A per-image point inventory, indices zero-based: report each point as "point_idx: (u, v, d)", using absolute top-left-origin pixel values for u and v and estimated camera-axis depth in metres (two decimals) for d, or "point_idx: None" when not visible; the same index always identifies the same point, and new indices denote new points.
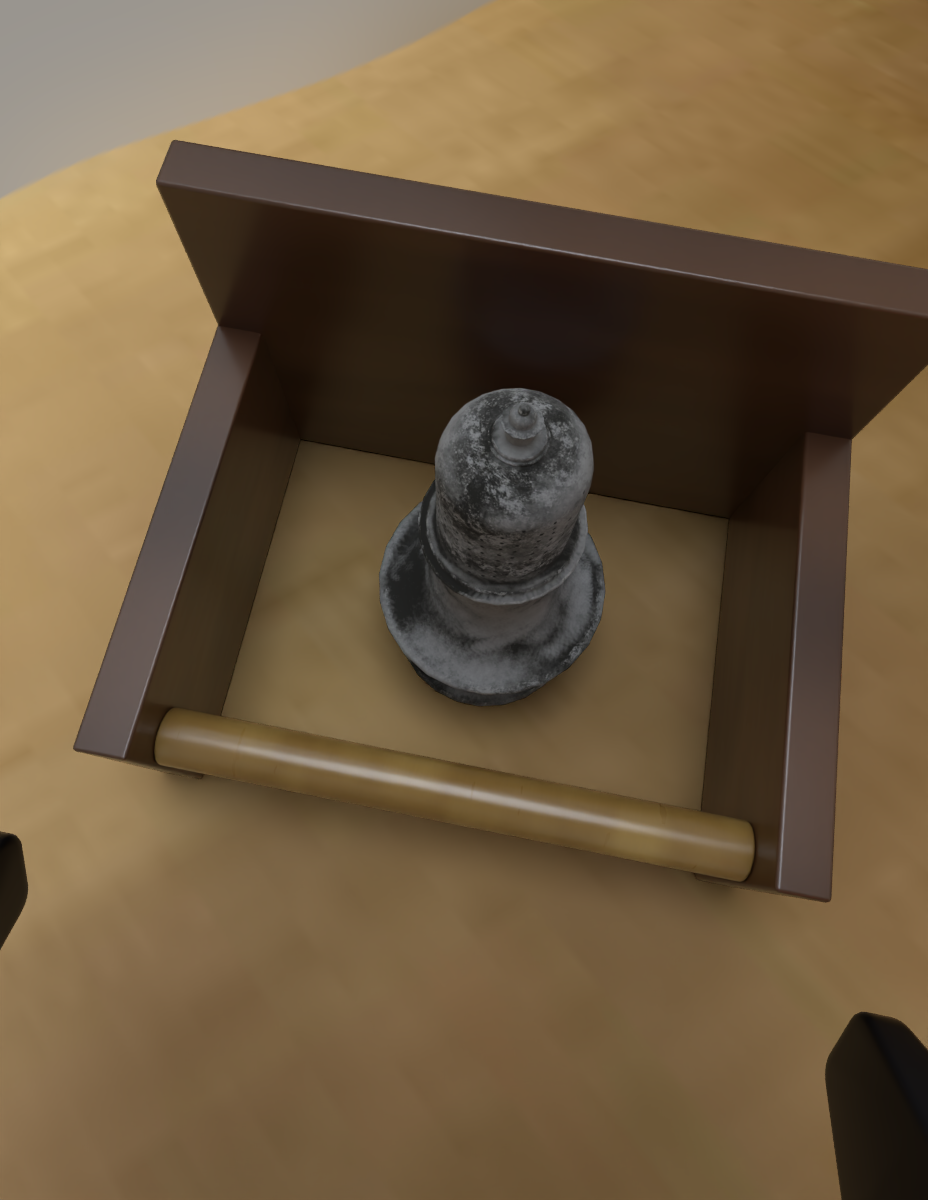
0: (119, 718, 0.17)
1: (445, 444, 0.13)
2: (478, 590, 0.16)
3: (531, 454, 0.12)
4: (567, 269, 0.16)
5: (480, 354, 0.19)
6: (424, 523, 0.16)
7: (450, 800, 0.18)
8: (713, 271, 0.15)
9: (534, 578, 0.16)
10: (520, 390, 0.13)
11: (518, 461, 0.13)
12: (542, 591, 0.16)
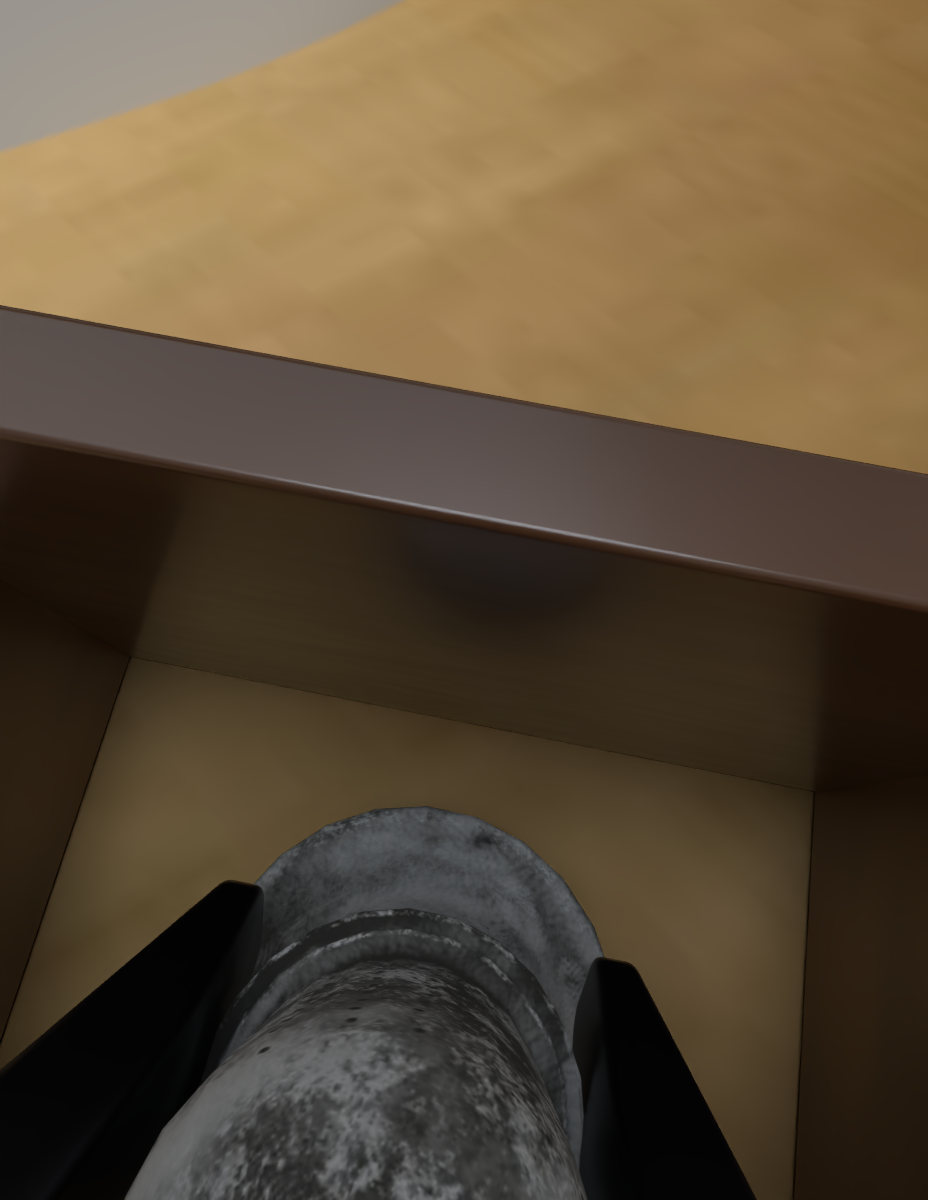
0: None
1: None
2: None
3: None
4: (537, 556, 0.06)
5: (375, 627, 0.10)
6: None
7: None
8: (910, 581, 0.06)
9: None
10: (363, 1094, 0.04)
11: None
12: None
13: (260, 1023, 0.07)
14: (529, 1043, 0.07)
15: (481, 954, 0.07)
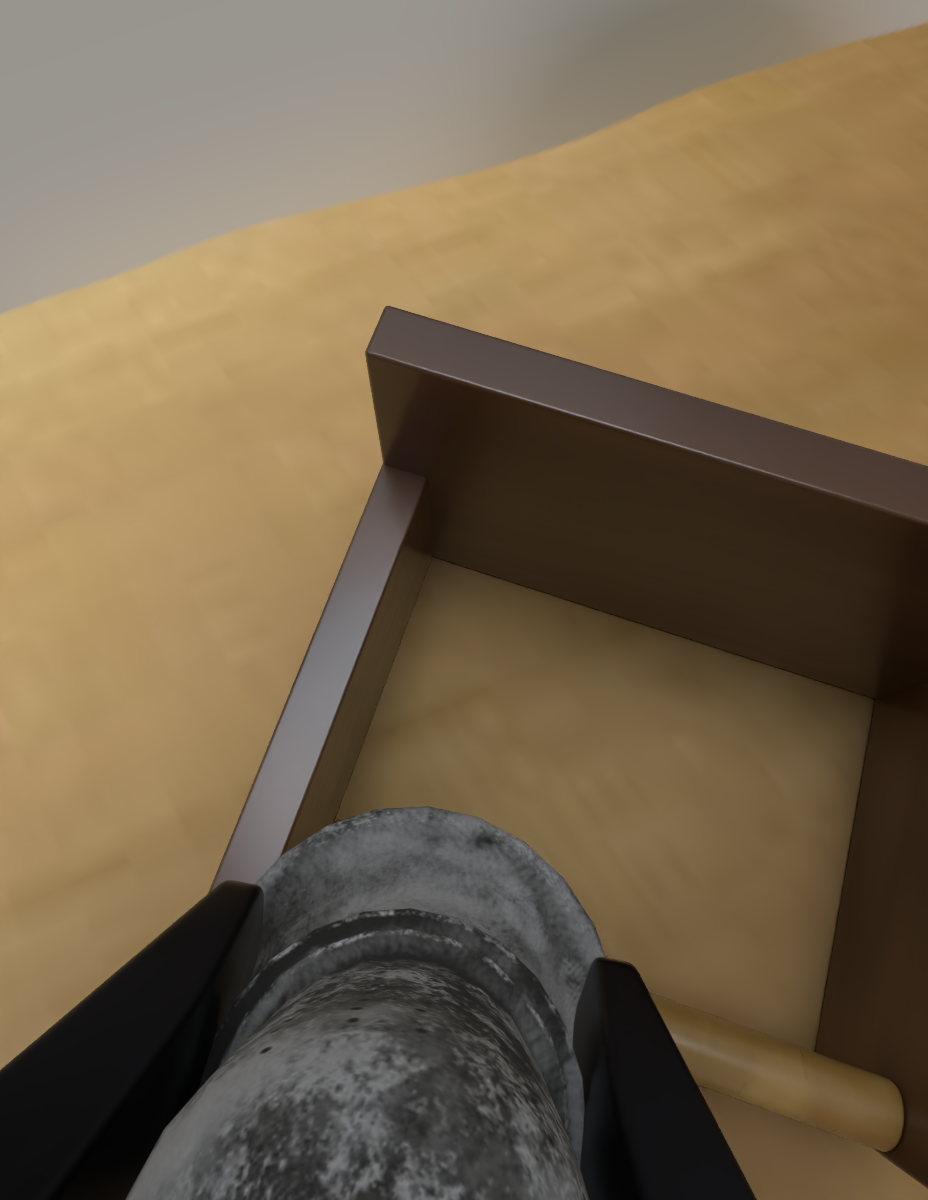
0: None
1: None
2: None
3: None
4: (794, 496, 0.14)
5: (661, 536, 0.18)
6: None
7: None
8: None
9: None
10: (365, 1094, 0.04)
11: None
12: None
13: (261, 1023, 0.07)
14: (530, 1043, 0.07)
15: (482, 954, 0.07)
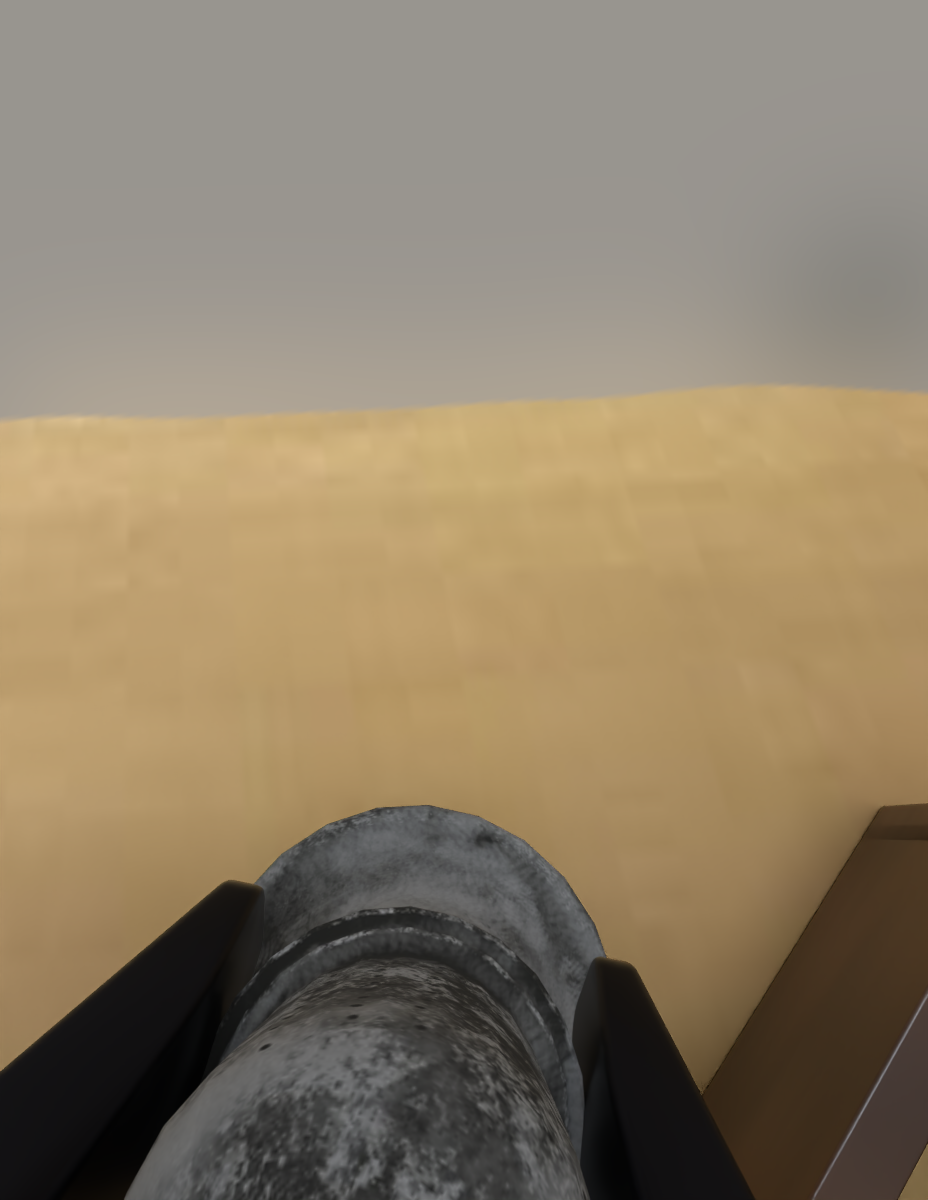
0: None
1: None
2: None
3: None
4: None
5: None
6: None
7: None
8: None
9: None
10: (365, 1091, 0.04)
11: None
12: None
13: (261, 1021, 0.07)
14: (531, 1041, 0.07)
15: (483, 952, 0.07)
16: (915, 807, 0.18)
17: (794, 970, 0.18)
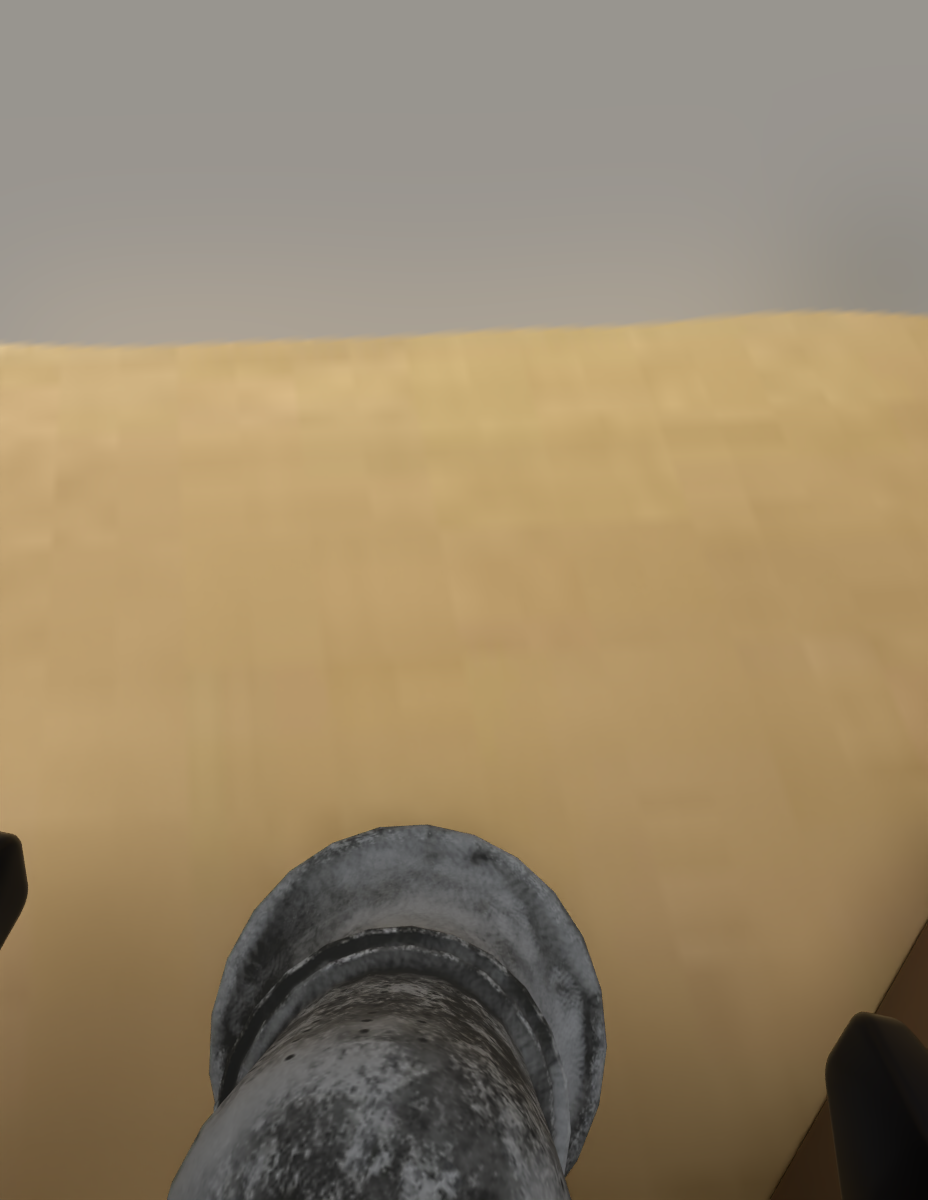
0: None
1: None
2: None
3: None
4: None
5: None
6: None
7: None
8: None
9: None
10: (376, 1095, 0.05)
11: None
12: None
13: (278, 1031, 0.08)
14: (520, 1048, 0.08)
15: (477, 968, 0.08)
16: None
17: None
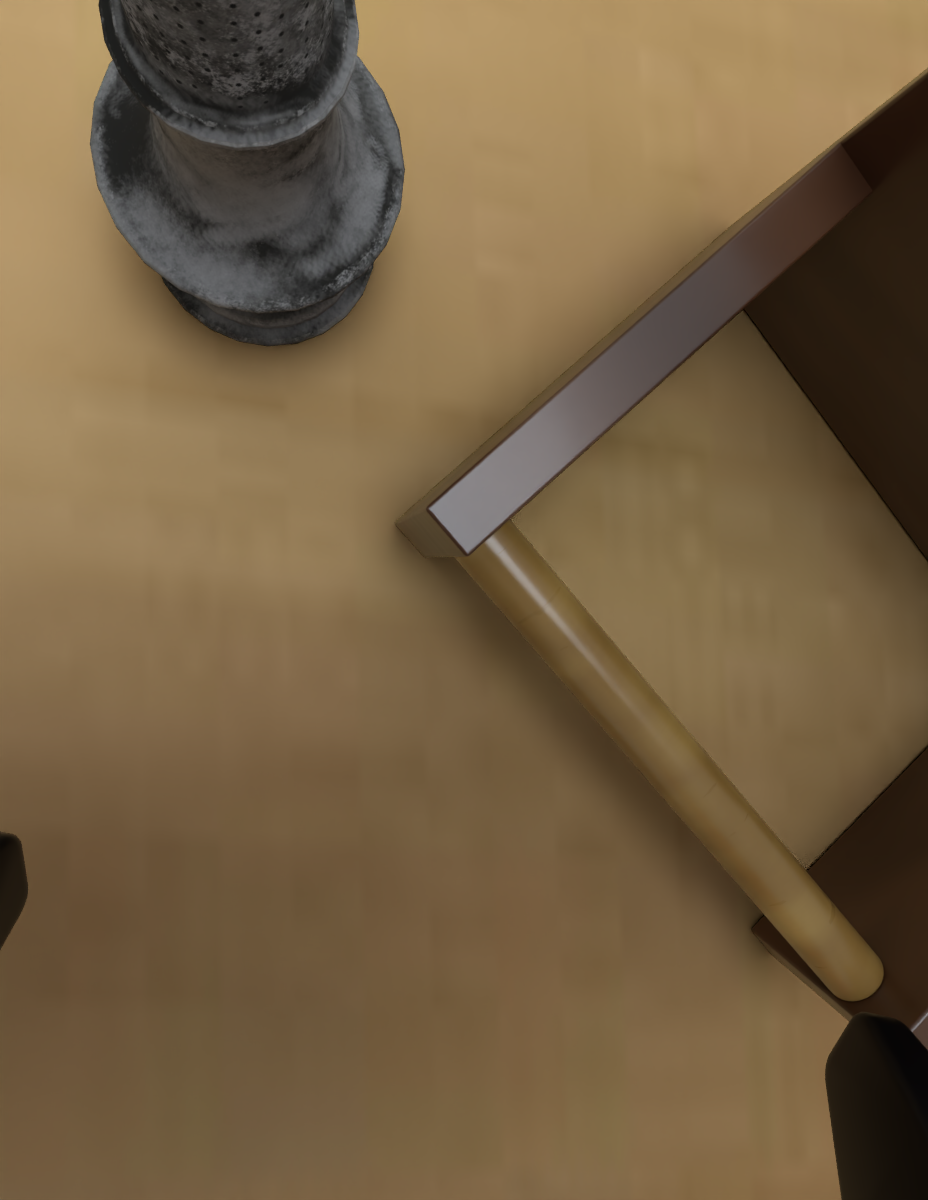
0: (487, 511, 0.14)
1: None
2: (175, 110, 0.11)
3: None
4: None
5: None
6: None
7: (687, 785, 0.16)
8: None
9: (259, 111, 0.11)
10: None
11: None
12: (270, 137, 0.11)
13: None
14: None
15: None
16: None
17: (612, 331, 0.19)
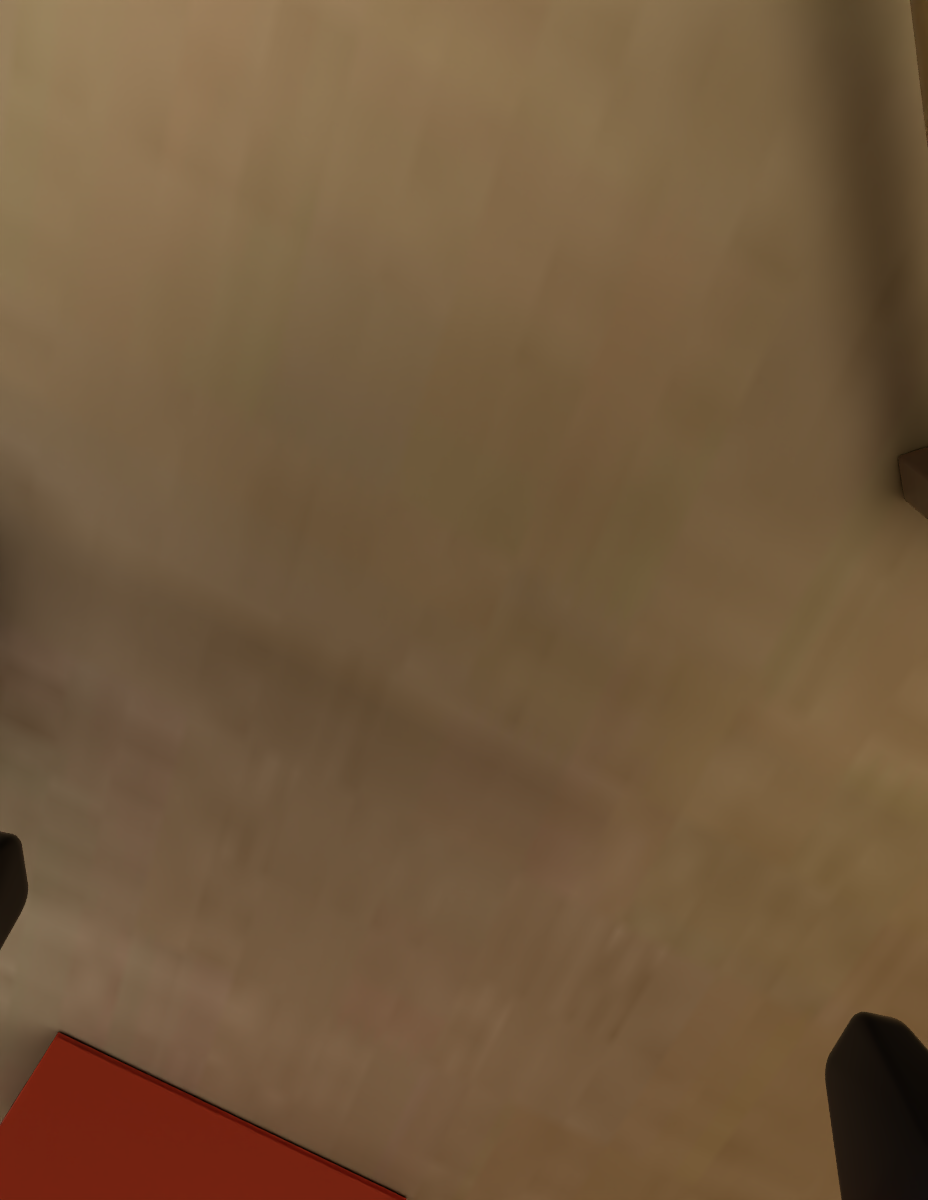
0: None
1: None
2: None
3: None
4: None
5: None
6: None
7: None
8: None
9: None
10: None
11: None
12: None
13: None
14: None
15: None
16: None
17: None
